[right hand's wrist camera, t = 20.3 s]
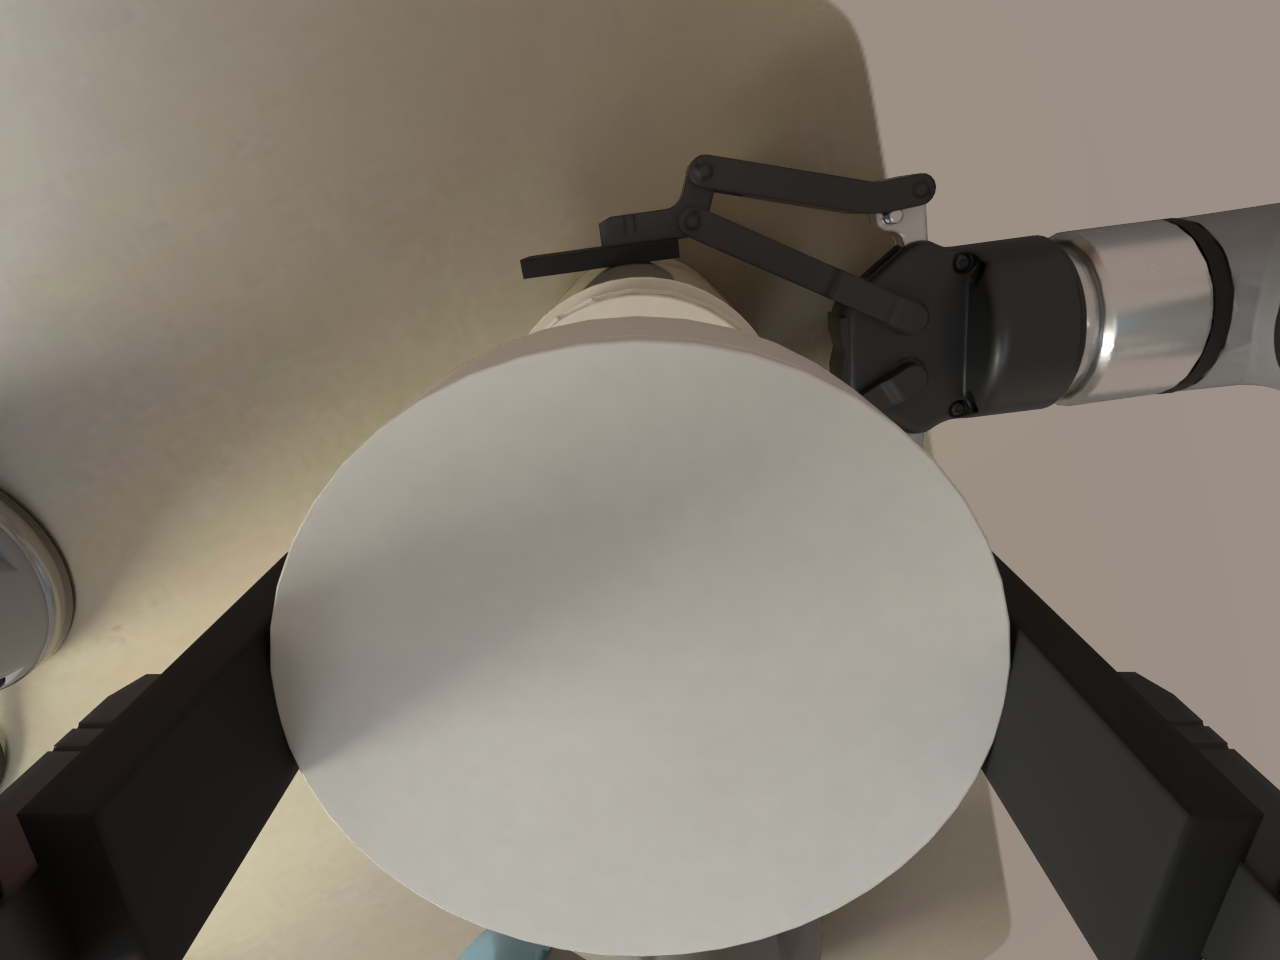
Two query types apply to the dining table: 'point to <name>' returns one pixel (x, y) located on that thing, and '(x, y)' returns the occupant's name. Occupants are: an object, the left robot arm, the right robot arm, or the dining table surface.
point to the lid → (640, 641)
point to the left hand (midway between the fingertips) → (548, 386)
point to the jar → (644, 297)
